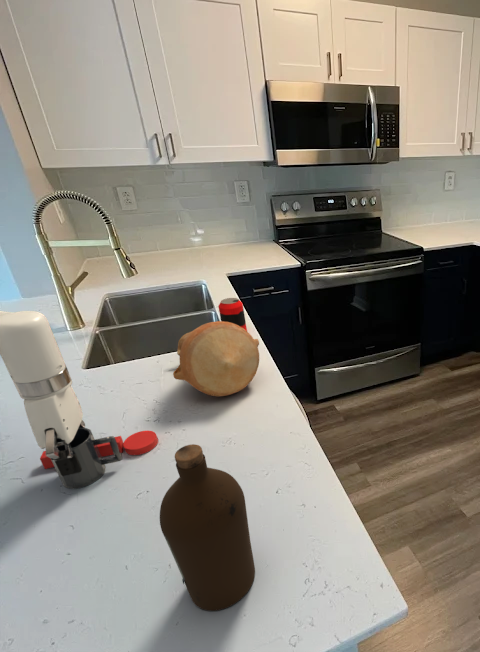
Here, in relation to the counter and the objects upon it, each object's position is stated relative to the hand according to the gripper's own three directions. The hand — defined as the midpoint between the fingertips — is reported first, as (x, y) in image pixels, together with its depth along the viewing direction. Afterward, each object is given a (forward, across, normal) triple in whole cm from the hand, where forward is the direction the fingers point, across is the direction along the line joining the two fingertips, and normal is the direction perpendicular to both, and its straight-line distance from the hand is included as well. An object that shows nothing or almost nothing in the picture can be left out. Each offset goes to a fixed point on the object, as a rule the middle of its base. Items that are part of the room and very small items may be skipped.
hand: (77, 458), depth 81 cm
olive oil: (+4, +33, +25) cm, 42 cm away
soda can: (+4, -59, +32) cm, 67 cm away
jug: (+4, -30, +26) cm, 40 cm away
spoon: (+4, -6, +2) cm, 8 cm away
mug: (+4, 0, +2) cm, 5 cm away
